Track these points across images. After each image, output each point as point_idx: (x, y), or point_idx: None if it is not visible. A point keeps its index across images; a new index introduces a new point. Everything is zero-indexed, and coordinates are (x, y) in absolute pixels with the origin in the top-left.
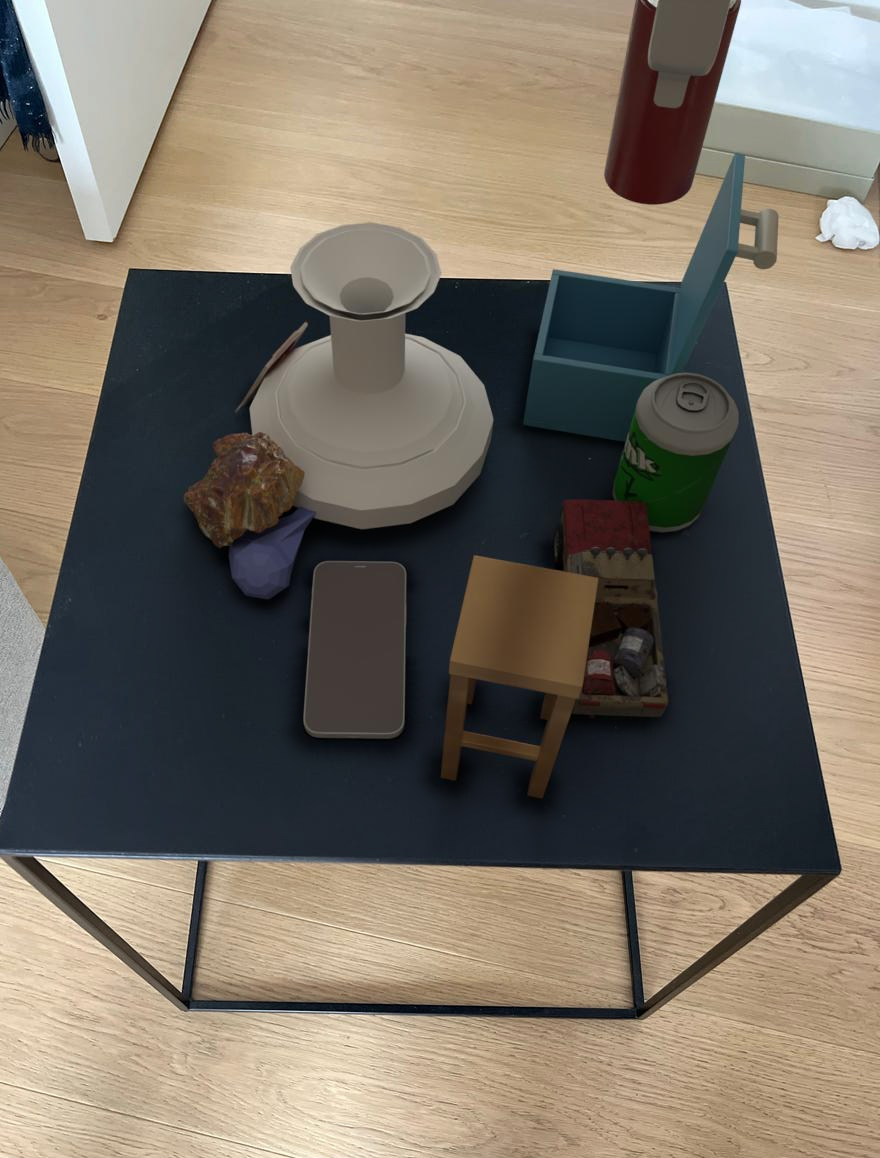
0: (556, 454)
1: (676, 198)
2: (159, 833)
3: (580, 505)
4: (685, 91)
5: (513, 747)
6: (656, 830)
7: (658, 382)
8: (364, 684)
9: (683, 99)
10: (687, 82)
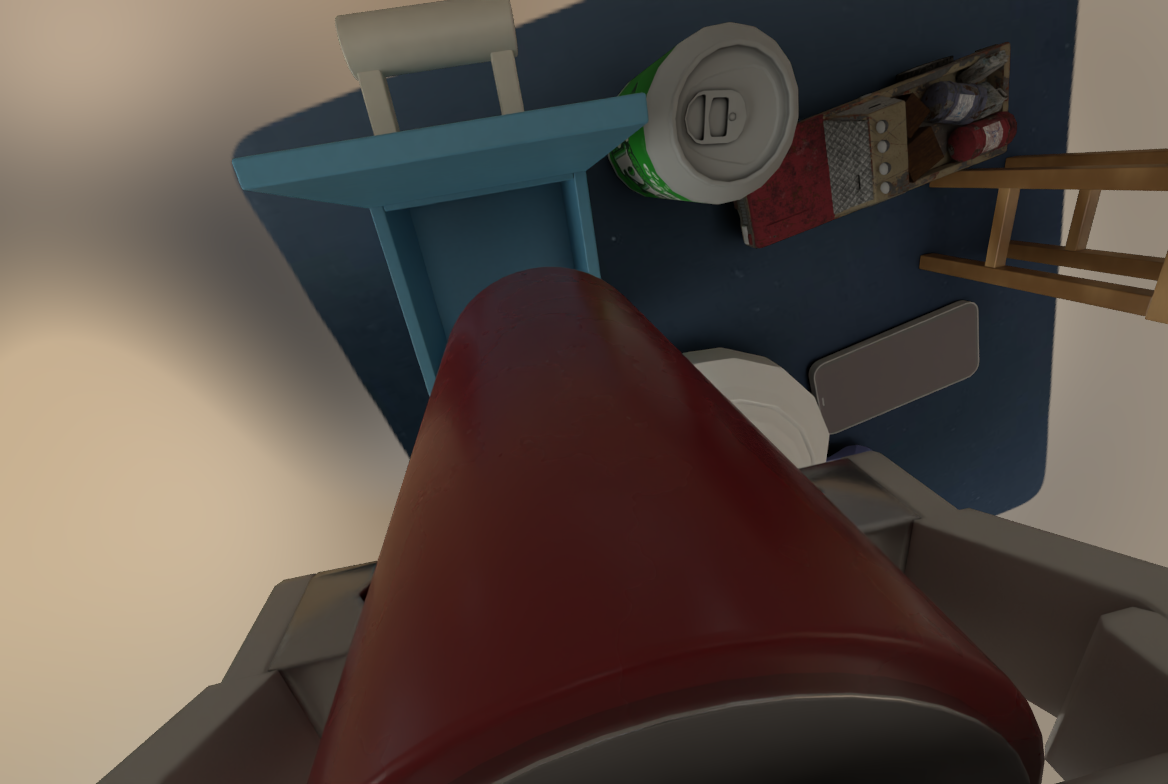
0: (620, 277)
1: (616, 289)
2: (1039, 422)
3: (765, 226)
4: (913, 478)
5: (1096, 197)
6: (1049, 27)
7: (707, 182)
8: (935, 347)
9: (890, 460)
10: (948, 503)
